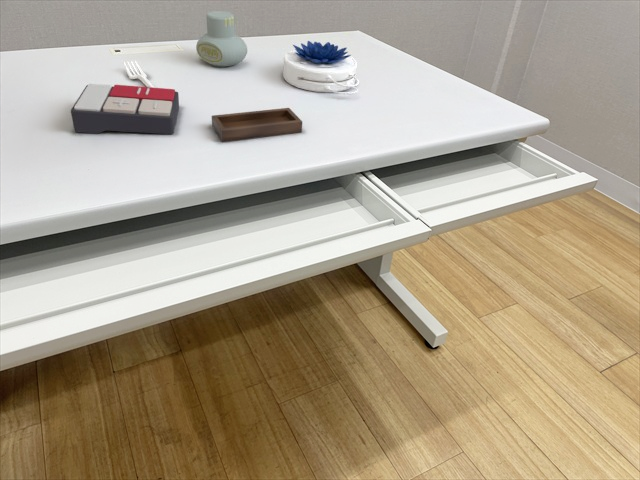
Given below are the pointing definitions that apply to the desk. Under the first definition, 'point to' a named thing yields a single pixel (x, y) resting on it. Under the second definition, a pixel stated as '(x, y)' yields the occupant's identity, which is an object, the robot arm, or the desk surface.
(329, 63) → the box with blue lotus
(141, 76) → the fork
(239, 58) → the air freshener
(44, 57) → the desk surface
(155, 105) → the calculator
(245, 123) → the pen tray
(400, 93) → the desk surface
